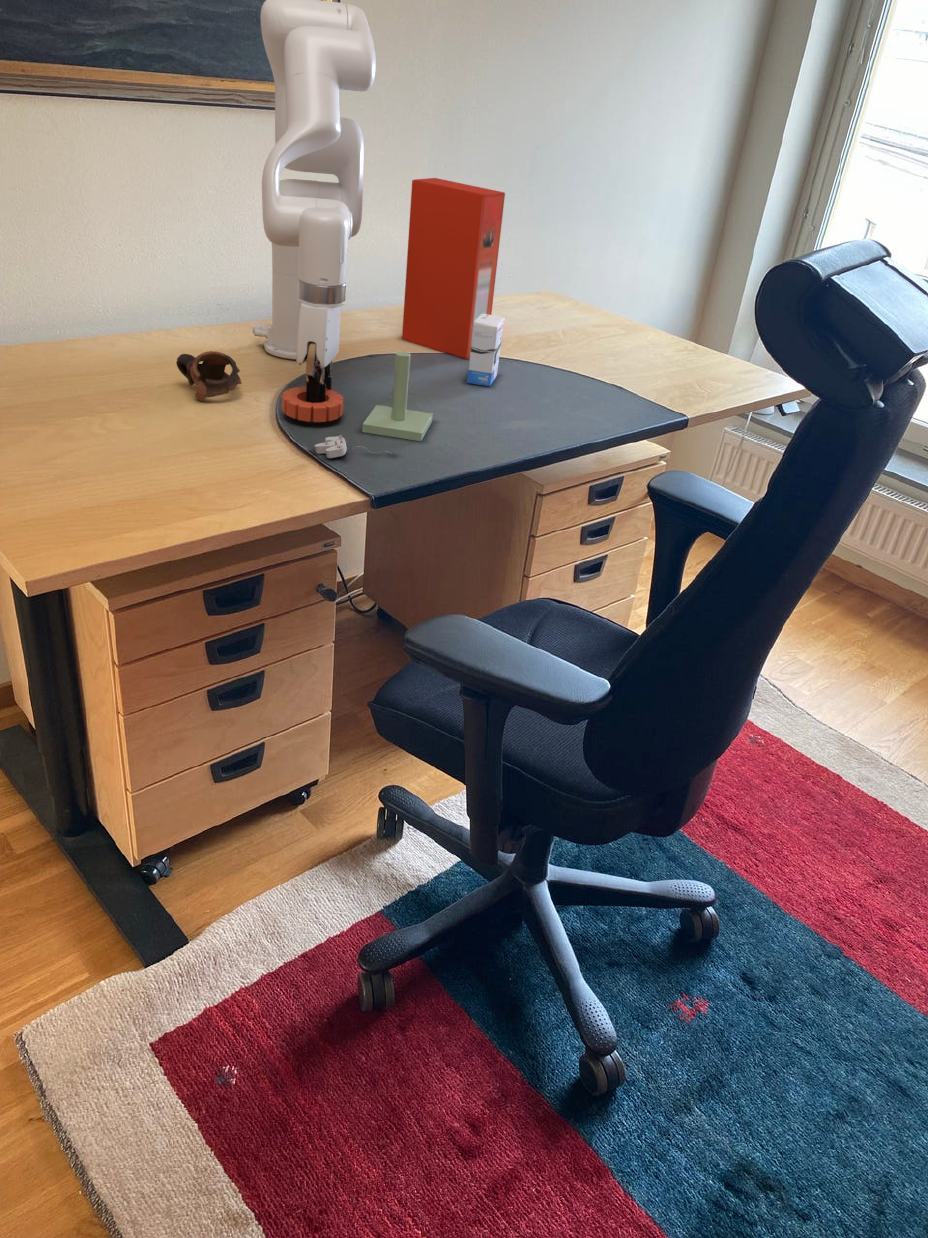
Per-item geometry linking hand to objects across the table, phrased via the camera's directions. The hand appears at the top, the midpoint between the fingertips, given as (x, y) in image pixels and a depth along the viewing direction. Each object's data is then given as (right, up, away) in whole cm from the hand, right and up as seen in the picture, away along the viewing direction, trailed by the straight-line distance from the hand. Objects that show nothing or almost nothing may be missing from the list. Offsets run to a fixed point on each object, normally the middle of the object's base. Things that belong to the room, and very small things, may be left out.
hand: (318, 400), depth 161 cm
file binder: (+20, +22, +43) cm, 52 cm away
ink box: (+28, +10, +26) cm, 40 cm away
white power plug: (+8, -12, -14) cm, 20 cm away
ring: (-1, -2, -3) cm, 4 cm away
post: (+14, -5, -1) cm, 14 cm away
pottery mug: (-19, +2, +3) cm, 20 cm away
